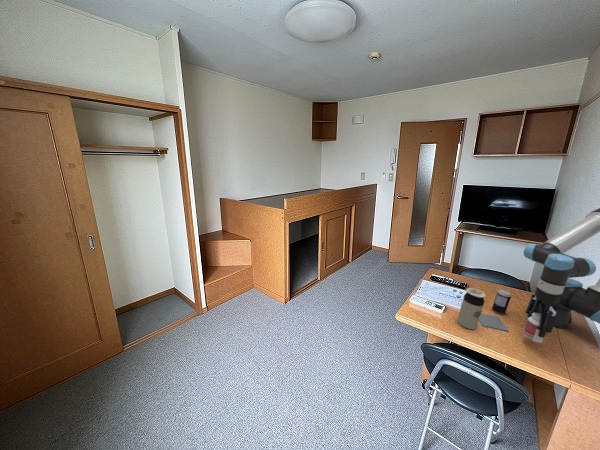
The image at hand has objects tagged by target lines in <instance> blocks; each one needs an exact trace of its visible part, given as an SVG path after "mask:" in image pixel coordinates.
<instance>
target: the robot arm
mask: <svg viewBox="0 0 600 450" xmlns="http://www.w3.org/2000/svg"><path fill="white" fill-rule="evenodd" d="M597 234H600V207H599V208H597V209H594V210H592V211H591V212H589V213H587V214H586V215H585V218H584V219H582V220H580V221H578V222H577V223H574V224H573V225H571V226H570V227H568V228H567V229H565V230H563V231H561V232H560V233H557V235H554V236H553V237H552V238H550V239H548V240H546V241H545V242H543V243H541V244H537V243H530V244H528V245H526V246H525V247H524V249H523V256H524V257H525V259H529V260H530V261H532V262H535V263H538V264H540V265H543V268H542V272H541V274H540V276H539V281H538V282H537V287H536V288H535V291H534V293H533V294H531V295H530V300H529V303H528V305H527V308H526V310H525V314H527V319H526V323H527V320H528V318H529V317H532V313H539V314H540V324H539V328H537V330H536V332H535V335H534V338H533V340H532V342H534V343H540V344H542V342H543V340H544V338H545V336H546V334H547V333H548V334H551V333H552V331H553V328H554V327H555V328H560V329H570V328H571V326H572V324H573V319H572V311H573V312H575V313H578V315H579V314H580V315H581V316H583V317H586V318H587V319H589V320H590V321H593V322H595V323H598V324H600V278H599V279H598V280H597V282H596V283H595V284H594V285H593V284H592V285H588V286H587V288H584V285H583V282H580V281H579V280H575V279H572V278H584V277H589V276H591V275H593V274H595V273H596V271H597V266H596V265H597V264H596V263H594V261H592V260H591V259H590V258H586V257H574V256H572V255H569V254H565V253H566V252H568V251H569V250H572V249H573V248H575V247H577V246H578V245H580V244H582V243H583V242H585V241H587V240H588V239H590V238H592V237H593V236H594V237H595V236H596V235H597ZM526 323H525V326H526ZM525 326H524V329H525ZM524 329H523V330H524Z"/></svg>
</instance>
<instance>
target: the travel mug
mask: <svg viewBox="0 0 600 450" xmlns="http://www.w3.org/2000/svg"><path fill="white" fill-rule="evenodd" d="M484 298H486V294H485V292H483V291H482V290H479V289H477V288H471V287H469V288H467V289H466V293H465V294H464V296H463V298H462V301H461V302H462V303H461V306H460V309H459V313H458V317H457V319H456V320H457V323H458V324H459V325H460V326H462V327H463V328H466V329H469V330H475V329H477V327H478V324H479V318H480V315H481V313H482V310H483V307H484V304H485V299H484Z"/></svg>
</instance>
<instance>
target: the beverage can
mask: <svg viewBox="0 0 600 450" xmlns="http://www.w3.org/2000/svg"><path fill="white" fill-rule="evenodd" d="M511 298H512V294H511V292H510V291H507V290H505V289H499V290H498V291H497V292H496V296H495V298H494V302H493V305H492V310H493V312H494V313H497V314H499V315H504V314H506V312H507V309H508V307H509V304H510V301H511Z"/></svg>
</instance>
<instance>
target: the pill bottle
mask: <svg viewBox="0 0 600 450" xmlns="http://www.w3.org/2000/svg"><path fill="white" fill-rule="evenodd" d="M527 319H528V320H527ZM527 319H526V322H527V323H525V325H526V326H524V328H525V329H523V336H525V337H526V338H527V339H529V340H530V341H533V338H534V335H535V332H536V330H537V328H539V324H540V314H539V313H532V317H529V318H528V317H527Z"/></svg>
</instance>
